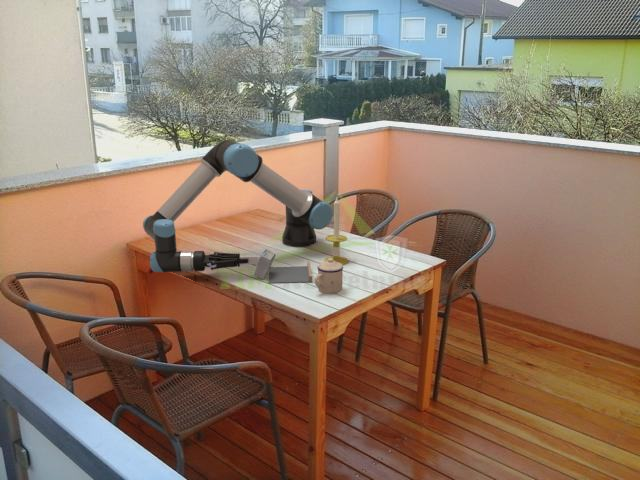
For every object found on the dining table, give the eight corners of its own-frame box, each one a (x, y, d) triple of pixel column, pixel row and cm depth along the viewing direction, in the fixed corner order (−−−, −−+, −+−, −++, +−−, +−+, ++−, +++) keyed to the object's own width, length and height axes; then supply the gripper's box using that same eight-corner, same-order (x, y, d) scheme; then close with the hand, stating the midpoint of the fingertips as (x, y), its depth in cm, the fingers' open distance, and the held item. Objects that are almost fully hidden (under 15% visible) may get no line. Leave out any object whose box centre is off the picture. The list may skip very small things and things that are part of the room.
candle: (344, 266, 233) (345, 200, 224) (320, 263, 236) (320, 198, 228) (351, 258, 242) (352, 194, 233) (328, 255, 245) (329, 192, 237)
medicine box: (263, 280, 220) (271, 260, 217) (252, 275, 220) (260, 255, 217) (268, 272, 227) (276, 253, 224) (257, 267, 227) (265, 248, 224)
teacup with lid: (329, 282, 217) (330, 252, 214) (348, 289, 211) (348, 258, 207) (306, 291, 209) (306, 260, 205) (324, 299, 203) (324, 267, 199)
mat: (309, 267, 232) (309, 261, 232) (312, 282, 217) (312, 276, 217) (269, 268, 231) (268, 262, 231) (268, 283, 216) (268, 277, 216)
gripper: (196, 264, 227) (258, 262, 229) (191, 277, 215) (257, 275, 216) (195, 245, 225) (257, 244, 226) (190, 257, 212) (256, 256, 214)
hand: (257, 259), depth 221 cm, fingers closed
